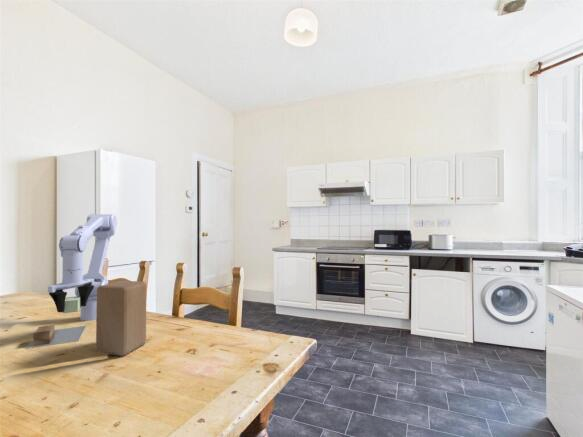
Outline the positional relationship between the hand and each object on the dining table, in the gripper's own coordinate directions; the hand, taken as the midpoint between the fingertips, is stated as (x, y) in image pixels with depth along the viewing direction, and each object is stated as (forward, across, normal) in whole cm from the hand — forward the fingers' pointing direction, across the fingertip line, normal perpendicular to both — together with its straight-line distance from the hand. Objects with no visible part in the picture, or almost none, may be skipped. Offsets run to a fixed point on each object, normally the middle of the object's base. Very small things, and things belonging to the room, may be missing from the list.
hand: (72, 308), depth 103 cm
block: (+9, +4, +27) cm, 28 cm away
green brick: (0, 0, 0) cm, 0 cm away
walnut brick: (+8, +9, +1) cm, 12 cm away
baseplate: (+9, +5, 0) cm, 10 cm away
